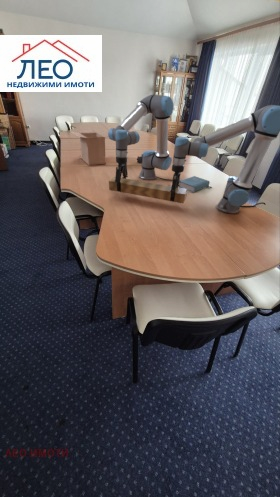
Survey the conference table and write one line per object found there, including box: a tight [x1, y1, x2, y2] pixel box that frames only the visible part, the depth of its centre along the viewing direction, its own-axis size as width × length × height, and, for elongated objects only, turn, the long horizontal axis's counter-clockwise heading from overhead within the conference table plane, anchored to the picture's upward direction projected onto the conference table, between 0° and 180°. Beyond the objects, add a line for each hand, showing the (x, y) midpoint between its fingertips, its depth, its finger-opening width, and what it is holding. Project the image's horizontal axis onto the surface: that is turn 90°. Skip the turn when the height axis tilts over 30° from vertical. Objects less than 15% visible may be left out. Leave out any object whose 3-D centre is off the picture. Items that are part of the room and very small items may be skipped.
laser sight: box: [136, 153, 143, 164], centre depth 239 cm, size 10×22×10 cm, turn 78°
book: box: [178, 175, 211, 193], centre depth 191 cm, size 23×16×5 cm
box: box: [70, 129, 109, 166], centre depth 229 cm, size 44×36×27 cm
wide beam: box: [108, 176, 188, 205], centre depth 154 cm, size 54×10×6 cm, turn 72°
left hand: (121, 188), depth 160 cm, fingers closed on wide beam, 10 cm apart
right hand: (173, 198), depth 151 cm, fingers closed on wide beam, 10 cm apart
